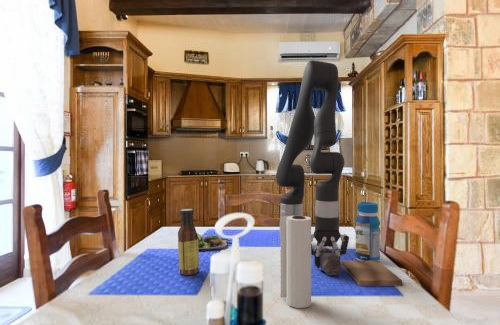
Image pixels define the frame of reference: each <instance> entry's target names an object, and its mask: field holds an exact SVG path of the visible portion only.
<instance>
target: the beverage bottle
mask: <svg viewBox="0 0 500 325" xmlns="http://www.w3.org/2000/svg"><path fill="white" fill-rule="evenodd" d="M357 213H358V215H357V216H356V218H355V222H354V223H355V228H354V232H355V259H356V261H378V262H380V260H381V255H380V252H381V251H380V250H381V249H380V247H381V246H380V245H381V244H380V242H381V241H380V240H381V239H380V238H381V228H380V225H381V222H380V218H379V217H378V215H377V214H378V213H379V204H378V203H377V202H372V201H359V202H358V203H357Z"/></svg>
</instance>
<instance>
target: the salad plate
mask: <svg viewBox="0 0 500 325" xmlns="http://www.w3.org/2000/svg"><path fill="white" fill-rule="evenodd" d="M197 235H198V251H199V250H208V251H212V250H211V249H216V250H221V249H220V248H222V249H224V248H226V247H227V245H228V243H227V242H230V241H232V240H228V239H229V238H224V237H221V236H218V235H213V234H211V235H209V236H205V237H203V236H202V235H201V234H199V233H198V232H197ZM213 245H220V246H213ZM210 246H212V247H210ZM199 252H200V251H199Z"/></svg>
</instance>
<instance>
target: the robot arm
mask: <svg viewBox="0 0 500 325" xmlns="http://www.w3.org/2000/svg"><path fill="white" fill-rule="evenodd" d="M302 74H303V75H302V78H301V85H300V90H299V95H298V98H297V99H298V100H297V103H296V107H295V112H294V115H293V117H292V121H291V123H290V127H289V132H288V136H287V140H286V144H285V147H284V151H283V153H282V155H281V159H280V160H279V163H278V166H277V169H276V175H275V180H276V184H277V185H278V186H279V187H282V188H290V187H291V188H290V190H289V191H288V192H286V193H285V194H282V195H280V199H279V201H280V205H279V206H280V207H279V208H280V209H279V210H280V217H279V244H280V245H281V216H304V213H303V208H304V205H303V202H304V201H303V200H304V196H305V182H306V181H305V178H306V176H305V175H306V174H305V170H304V168H303V166H302V165H300V164H294V162H295V160H296V159H297V158H298V156H299V155H300V154H301V153H303V152H304V150H306V149H307V148H308V146H309V145H310V144H311V142H312V141H313V139H314V142H313V149H312V154H311V155H310V156H311V158H310V161H309V168H310V170H311V172H312V173H314V174H316V175H331V176H330V178H329V179H327V180H322V181H318V182H317V183H316V184H315V204H314V232H313V233H311V256H313V257H314V258H313V259H314V261H313V263H314V266H315V267H316V268H317V269H320V268H321V267H320V256H319V255H320V252H321V250H322V248H326V247H331V248H332V251H333V252H335V253H336V255H337V256H338V257H339V259H340V260H341V256H342V255H346V254H347V251H348V246H349V240H350V236H349V235H347V234H345V233H344V234H343V233H342V234H341V231H340V214H341V213H340V204H339V186H340V180H341V176H342V173H343V170H344V166H345V159H344V156H343V154H342V153H340V152H339V151H322V150H323V149H325V148H330V147H332V146H333V147H334V145H336V143H337V139H338V138H337V128H336V127H337V126H336V111H337V110H336V108H337V100H338V99H337V98H338V88H339V87H338V86H339V85H338V84H339V68H338V67H337V65H336V64H335V63H332V62H326V61H322V60H321V61H320V60H312V59H311V60H309V61H308V62H307V63H306V65H305V67H304V70H303V73H302ZM313 89H314V90H321V91H324V92H325V93H324V94H325V96H324V97H325V98H324V100H323V103H322V104H321V106H320V108H319V109H318V111H317V113H316V114H315V113H314V110H313V107H312V101H311V99H312V98H311V97H312V92H313ZM314 239H315V241H316V244H315V247H313V244H312V242H313V241H314ZM339 240H340V241H341V244H340V249H339V246H338V244H337V243H338V241H339ZM313 248H315V249H313Z"/></svg>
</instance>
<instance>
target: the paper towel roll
mask: <svg viewBox="0 0 500 325" xmlns="http://www.w3.org/2000/svg"><path fill="white" fill-rule="evenodd" d="M311 235H312V218H311V217H310V216H306V215H305V216H304V215H303V216H281V244H280V298H281V299H282V298H284V299H285V298H286V303H287V305H288V306H290V307H293V308H297V309H305V308H308V307H310V306H311V305H312V255H311V243H312V242H311Z"/></svg>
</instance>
